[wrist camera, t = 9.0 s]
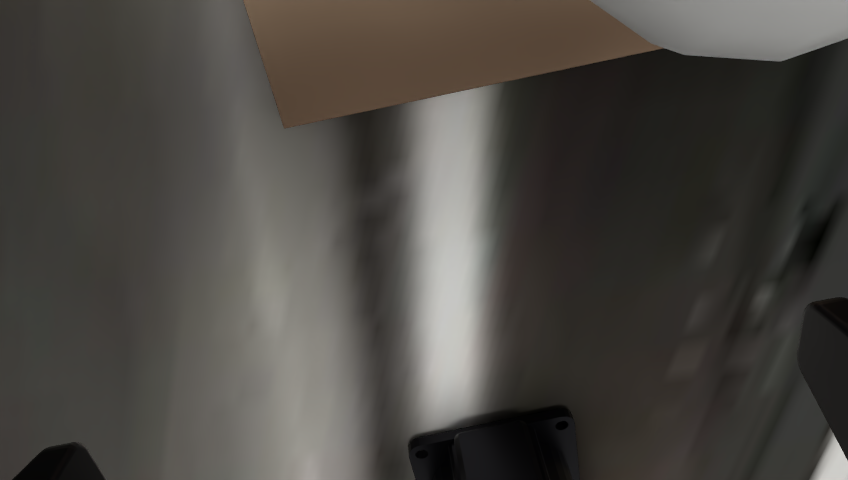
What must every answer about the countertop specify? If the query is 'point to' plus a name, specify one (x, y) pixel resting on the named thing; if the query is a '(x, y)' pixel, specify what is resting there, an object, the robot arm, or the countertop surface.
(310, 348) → the countertop surface
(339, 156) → the countertop surface
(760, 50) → the salt shaker
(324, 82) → the walnut board
